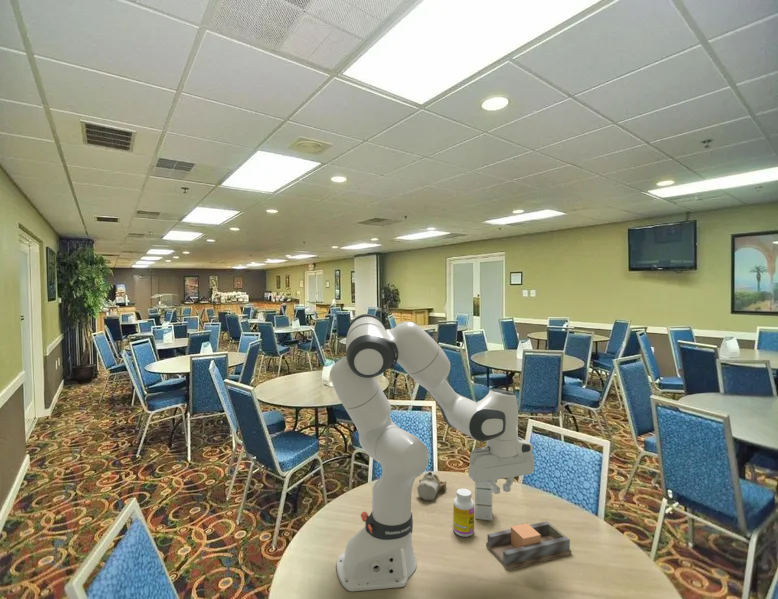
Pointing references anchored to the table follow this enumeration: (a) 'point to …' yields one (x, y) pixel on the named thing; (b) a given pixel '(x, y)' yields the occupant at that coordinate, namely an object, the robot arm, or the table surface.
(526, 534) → the peach block
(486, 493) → the syrup box
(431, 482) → the ceramic sculpture
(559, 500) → the table surface
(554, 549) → the chute
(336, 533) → the table surface
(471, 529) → the supplement bottle
